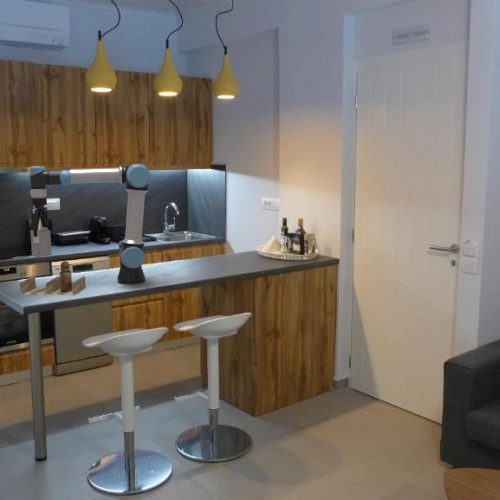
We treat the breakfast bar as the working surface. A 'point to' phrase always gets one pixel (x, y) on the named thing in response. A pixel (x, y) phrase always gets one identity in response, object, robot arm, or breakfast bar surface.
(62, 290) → the pepper mill
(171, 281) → the breakfast bar surface
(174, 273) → the breakfast bar surface
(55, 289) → the rack
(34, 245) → the grey notched block
